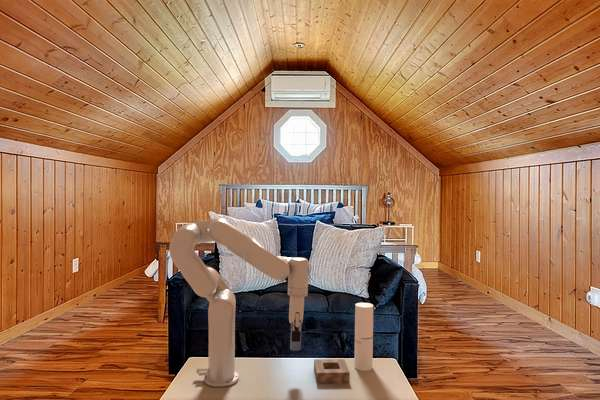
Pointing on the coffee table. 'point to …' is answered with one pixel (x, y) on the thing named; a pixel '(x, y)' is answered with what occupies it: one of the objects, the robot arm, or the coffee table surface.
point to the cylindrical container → (363, 336)
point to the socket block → (331, 371)
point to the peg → (295, 345)
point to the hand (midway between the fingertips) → (295, 338)
